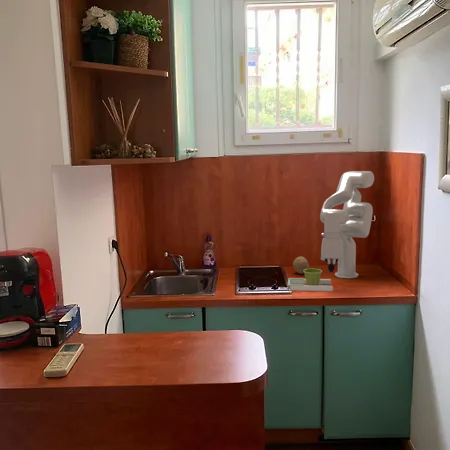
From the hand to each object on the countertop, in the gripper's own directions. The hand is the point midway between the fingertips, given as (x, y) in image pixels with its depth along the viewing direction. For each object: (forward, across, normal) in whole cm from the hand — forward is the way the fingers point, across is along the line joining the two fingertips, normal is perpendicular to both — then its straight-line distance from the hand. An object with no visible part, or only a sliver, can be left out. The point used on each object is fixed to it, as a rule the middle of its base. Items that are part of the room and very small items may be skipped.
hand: (331, 271), depth 235 cm
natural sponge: (+8, -14, +29) cm, 33 cm away
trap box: (+9, -10, +1) cm, 14 cm away
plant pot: (+9, -9, +1) cm, 13 cm away
